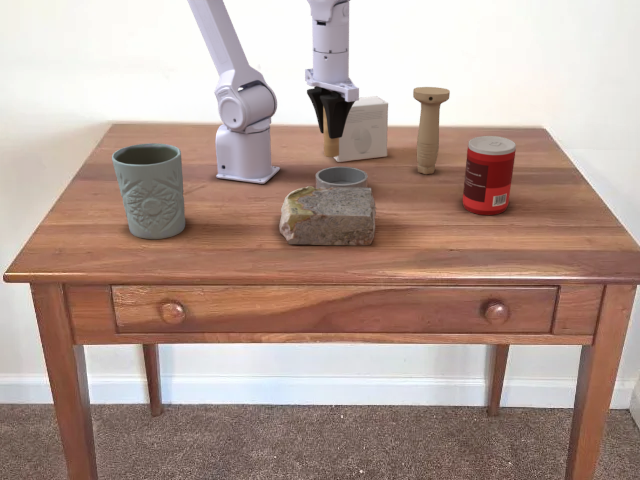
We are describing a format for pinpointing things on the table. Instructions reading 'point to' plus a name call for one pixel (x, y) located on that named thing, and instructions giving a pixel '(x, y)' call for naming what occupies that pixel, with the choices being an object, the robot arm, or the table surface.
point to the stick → (329, 141)
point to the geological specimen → (328, 216)
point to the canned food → (488, 174)
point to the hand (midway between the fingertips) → (331, 134)
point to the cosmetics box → (365, 130)
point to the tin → (341, 178)
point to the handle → (429, 126)
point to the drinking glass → (151, 189)
